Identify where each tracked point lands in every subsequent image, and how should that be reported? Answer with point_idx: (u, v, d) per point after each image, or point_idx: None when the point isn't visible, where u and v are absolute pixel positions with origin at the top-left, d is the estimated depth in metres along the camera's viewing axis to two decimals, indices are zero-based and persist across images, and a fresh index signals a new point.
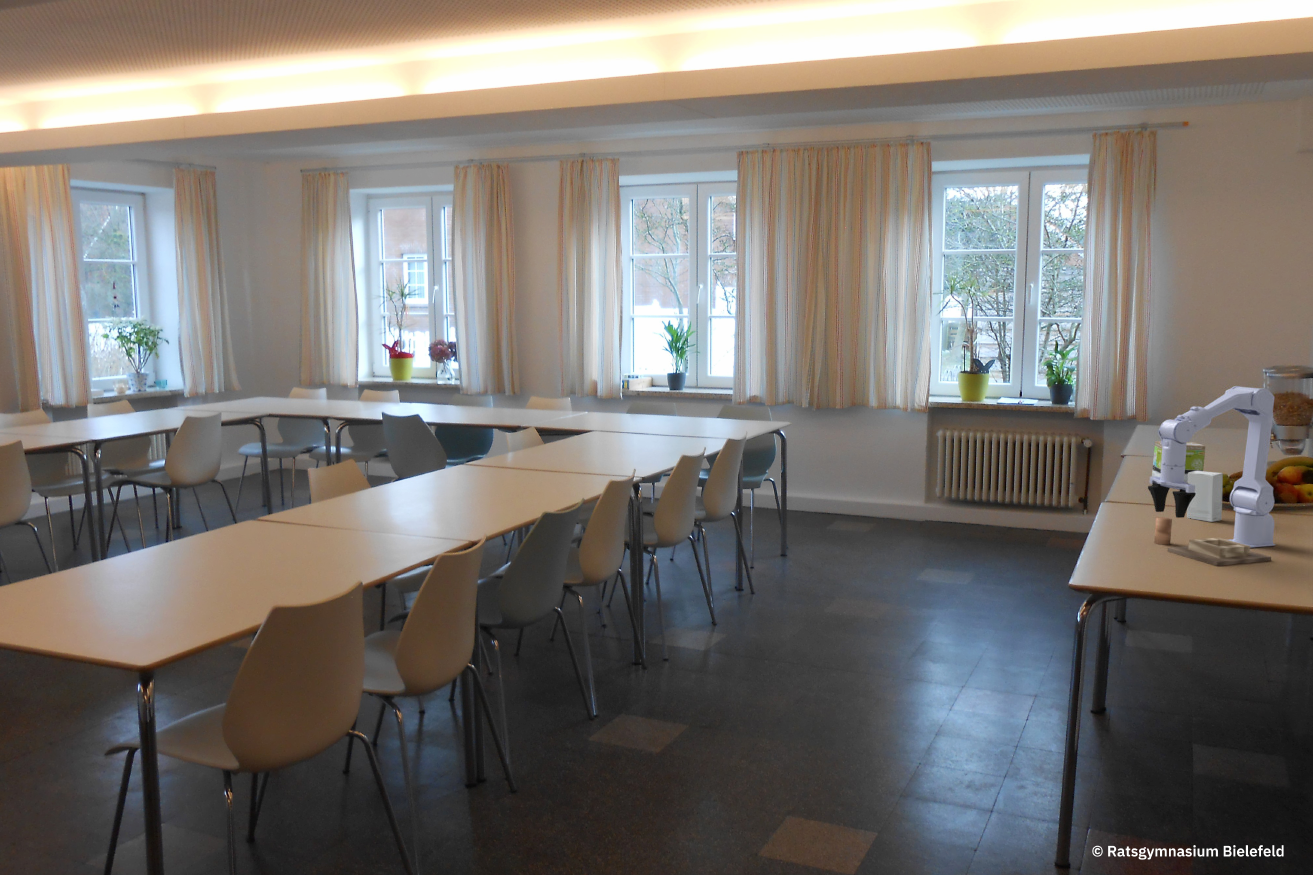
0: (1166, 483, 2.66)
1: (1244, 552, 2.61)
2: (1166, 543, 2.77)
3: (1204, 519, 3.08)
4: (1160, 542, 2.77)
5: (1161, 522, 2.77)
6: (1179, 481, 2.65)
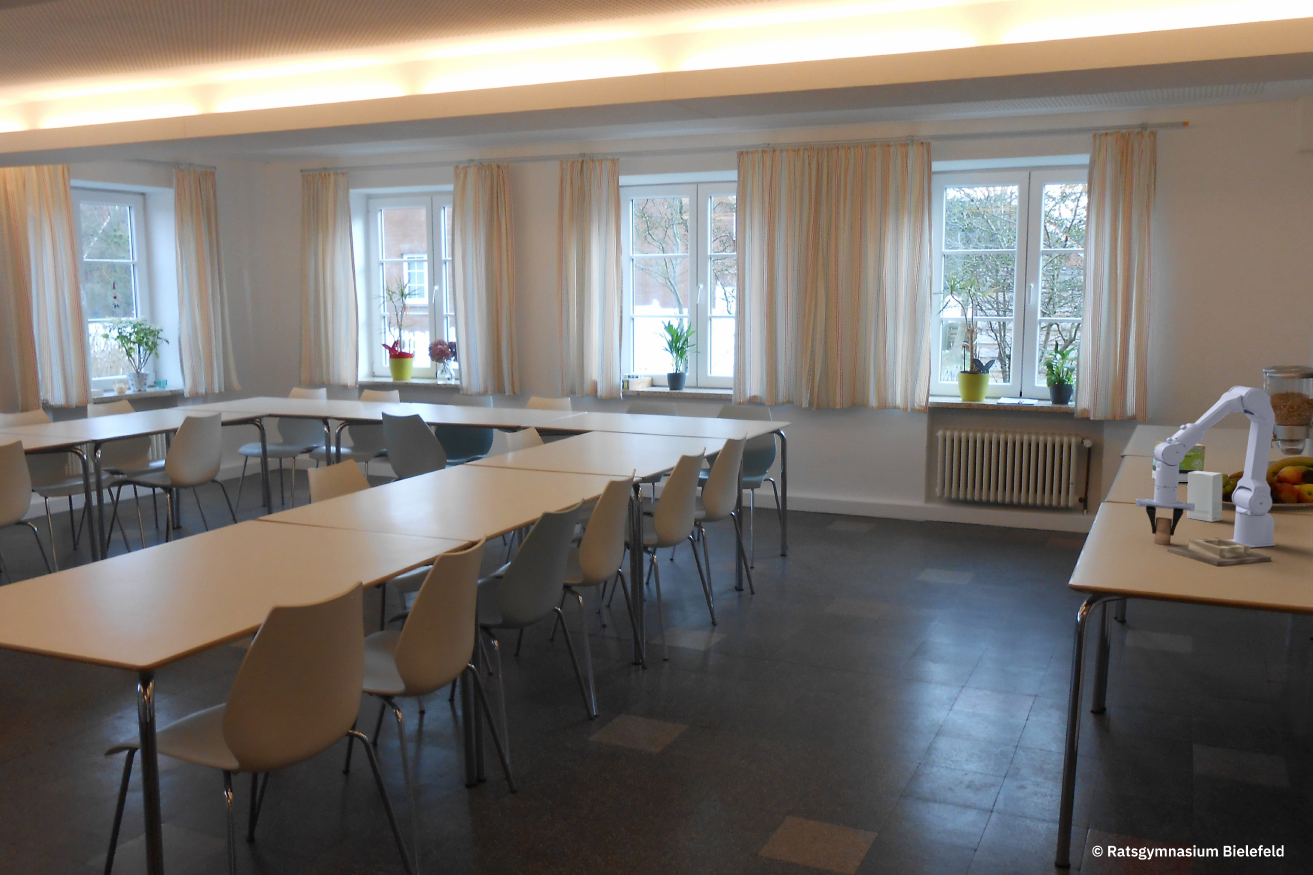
0: None
1: (1244, 552, 2.61)
2: (1166, 543, 2.77)
3: (1204, 519, 3.08)
4: (1160, 542, 2.77)
5: (1161, 522, 2.77)
6: (1153, 499, 2.79)
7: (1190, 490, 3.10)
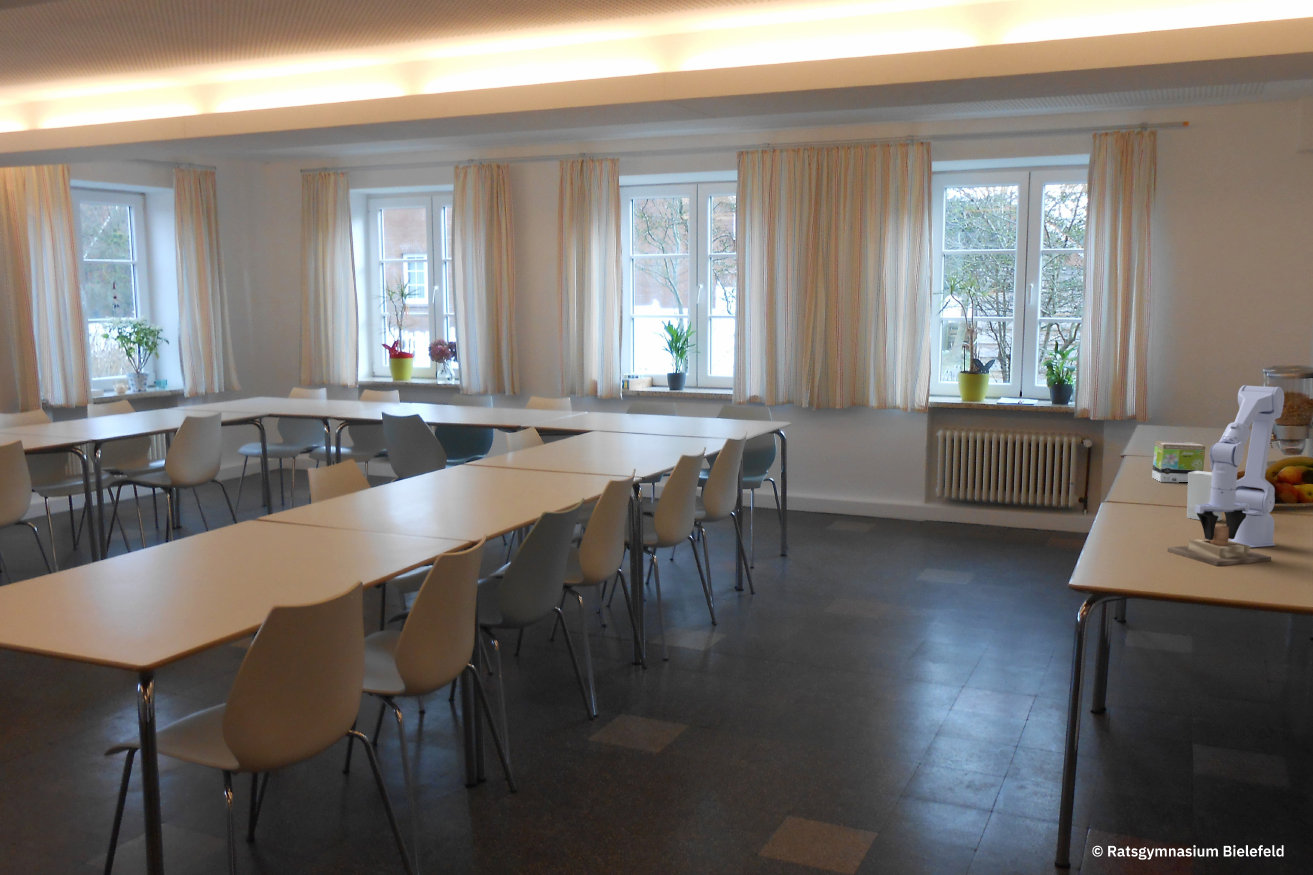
0: None
1: (1244, 552, 2.61)
2: None
3: None
4: None
5: (1224, 531, 2.62)
6: (1212, 503, 2.63)
7: (1190, 490, 3.10)
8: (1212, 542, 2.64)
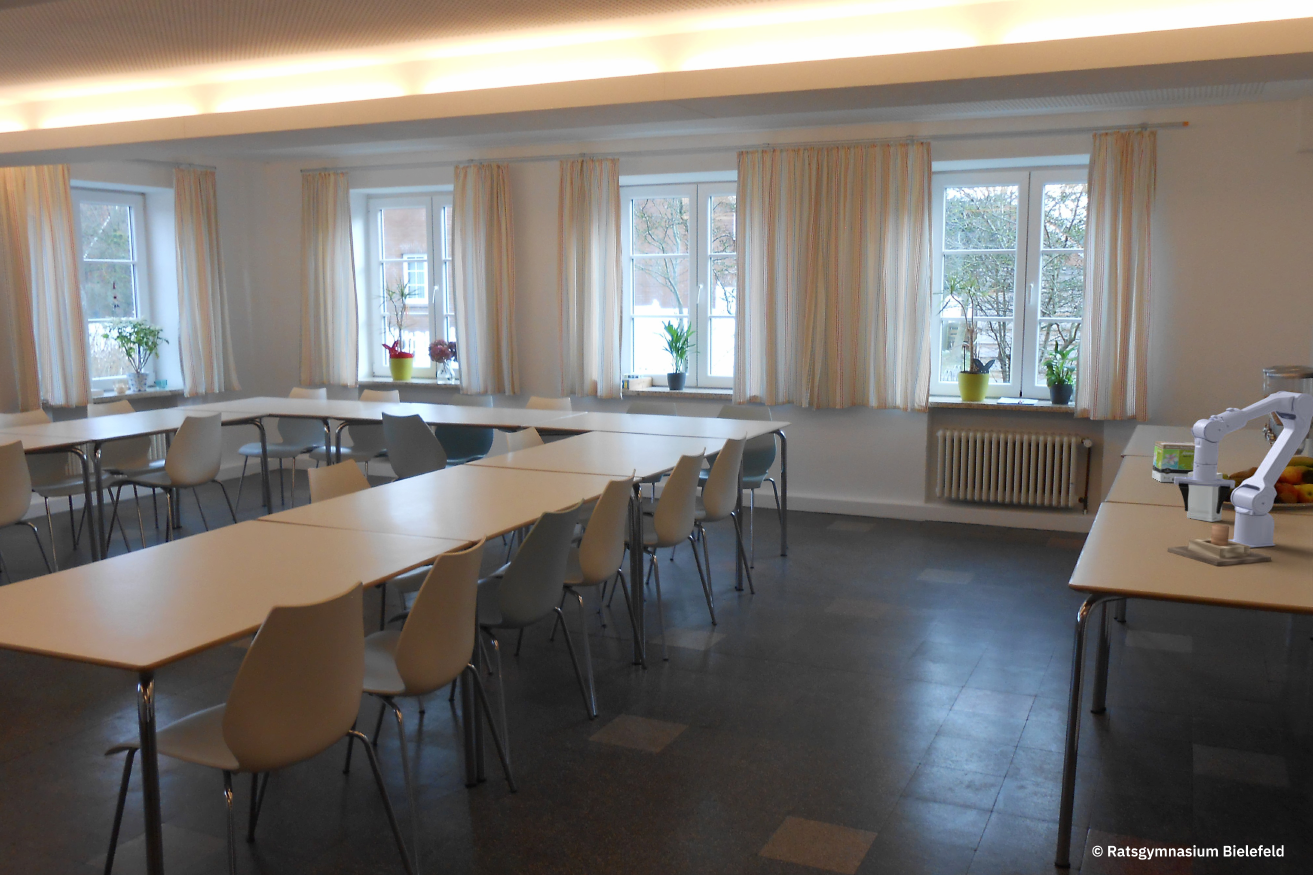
0: None
1: (1244, 552, 2.61)
2: None
3: (1204, 519, 3.08)
4: None
5: (1224, 531, 2.62)
6: (1192, 477, 2.75)
7: (1190, 490, 3.10)
8: (1212, 542, 2.64)
